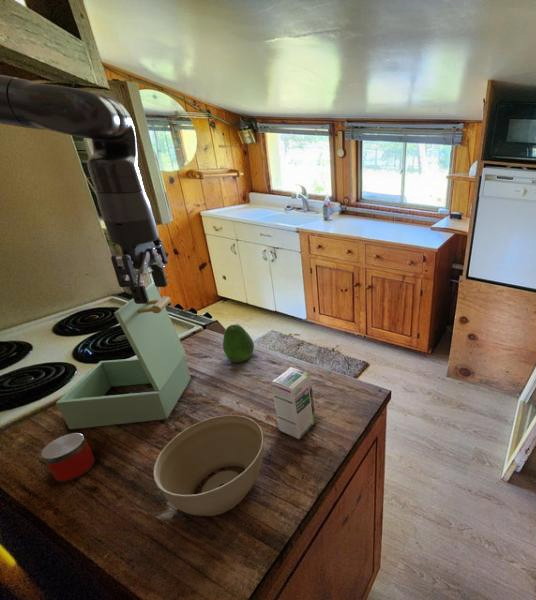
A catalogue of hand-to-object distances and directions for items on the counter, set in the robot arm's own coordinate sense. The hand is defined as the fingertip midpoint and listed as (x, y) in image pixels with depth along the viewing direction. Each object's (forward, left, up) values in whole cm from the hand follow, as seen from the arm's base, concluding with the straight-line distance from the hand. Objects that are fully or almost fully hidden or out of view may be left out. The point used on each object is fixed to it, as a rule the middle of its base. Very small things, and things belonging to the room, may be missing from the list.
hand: (152, 294), depth 68 cm
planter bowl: (+16, -27, -29) cm, 42 cm away
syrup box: (+28, -14, -29) cm, 42 cm away
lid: (-2, 0, -10) cm, 10 cm away
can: (-12, -18, -28) cm, 36 cm away
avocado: (+10, +15, -29) cm, 34 cm away
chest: (-10, 0, -28) cm, 30 cm away
